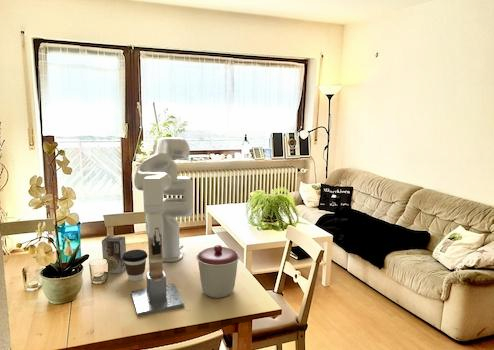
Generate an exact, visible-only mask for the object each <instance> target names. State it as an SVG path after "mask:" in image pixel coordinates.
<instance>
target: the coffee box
mask: <svg viewBox="0 0 494 350" xmlns="http://www.w3.org/2000/svg"><path fill="white" fill-rule="evenodd" d="M126 247H127V246H126V236H116V235H115V236H114V235H110V236H109V235H108V236H106V237H104V238H103V239H102V240H101V250H102V260H103V259H106V260H107V263H108V274H123V273H124V272H126V267H125V262H124V260H123V258H122V256H123V255H124V253H125V252H127V250H126Z"/></svg>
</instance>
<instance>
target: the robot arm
mask: <svg viewBox="0 0 494 350" xmlns="http://www.w3.org/2000/svg"><path fill="white" fill-rule="evenodd" d="M152 147H153V148H152V149H153V151H152V154H151V156H150V157H147V158H146V159H144V160H143V161H142V162H140V163H139V164H138V166H137V168H136V171H135V173H134V179H133V183H134V187H135V189H136V190H138V191H142V192H143V193H142V195H143V213H145V233H146V235H147V238H148V237H149V238H150V239H151V238H152V240H153V245H152V254H153V255H158V254H161V244H160V238H161V237H162V258H163V261H162V263H174V262H178V261H181V260H182V258H183V257H184V254H183V253H182V252H181V250H182V249H183V248H184V244H181V243H180V224H179V222H178V220H177V219H176V218H188V217H191V216H192V215H193V211H194V186H193V185H194V183H193V180H192V178H191V177H189V176H179V175H178V164H177V163H176V162H175V160H180V161H184V160H185V161H186V160H187V159H188V158H189V156H190V153H191V152H190V146H189V143H188V142H187V140H186V139H185V138H183V137H179V136H178V137H172V136H171V137H169V136H168V137H167V136H165V137H160V138H157V139H156V141H155V143H154V144H153V146H152ZM164 195H165V196H182V197H165V198H164ZM154 236H156V237H154ZM154 239H156V240H155V241H154Z"/></svg>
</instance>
